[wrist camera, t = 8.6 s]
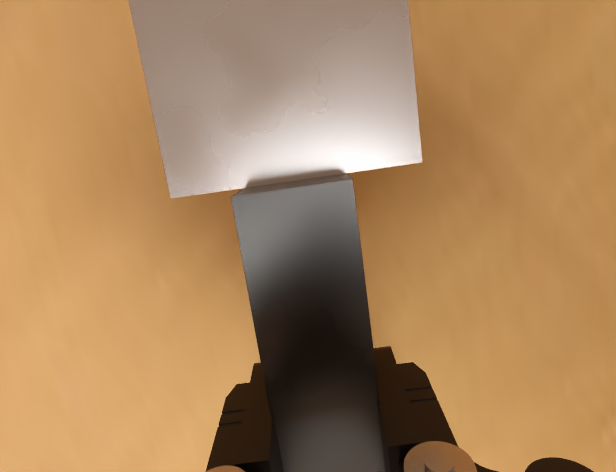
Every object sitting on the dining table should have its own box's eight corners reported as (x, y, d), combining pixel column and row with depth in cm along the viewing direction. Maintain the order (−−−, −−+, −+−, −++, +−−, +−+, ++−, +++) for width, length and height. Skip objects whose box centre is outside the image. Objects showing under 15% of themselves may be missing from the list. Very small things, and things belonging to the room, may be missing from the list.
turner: (114, -155, 10) (29, -283, 7) (376, -202, 10) (405, -356, 7) (270, 609, 14) (259, 729, 11) (451, 590, 14) (487, 708, 11)
